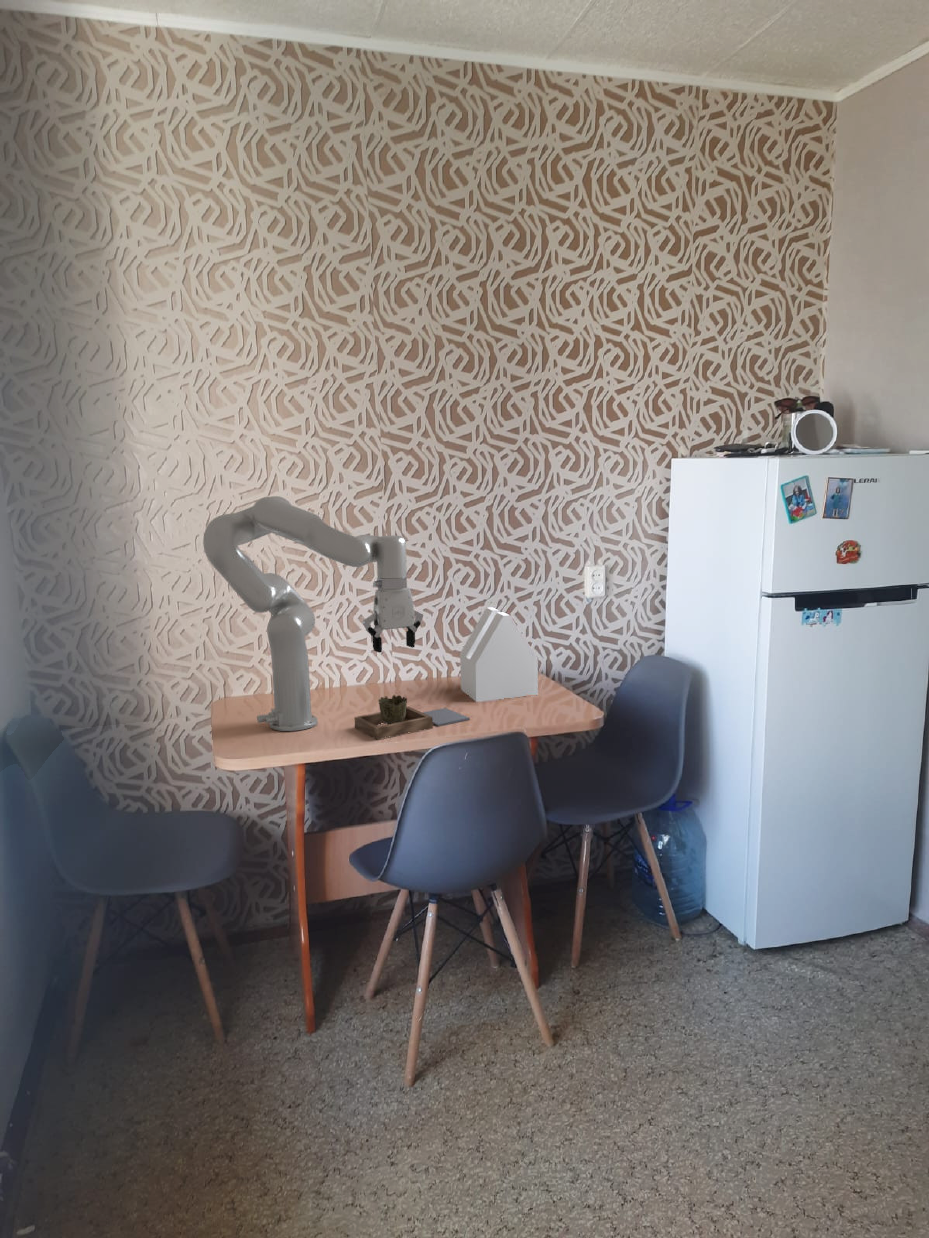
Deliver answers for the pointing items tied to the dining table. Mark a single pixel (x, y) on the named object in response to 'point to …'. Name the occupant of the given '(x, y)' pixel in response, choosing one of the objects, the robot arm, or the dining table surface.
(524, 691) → the grey slotted house block
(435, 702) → the dining table surface
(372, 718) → the frame
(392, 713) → the cup
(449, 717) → the mat
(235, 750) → the dining table surface
